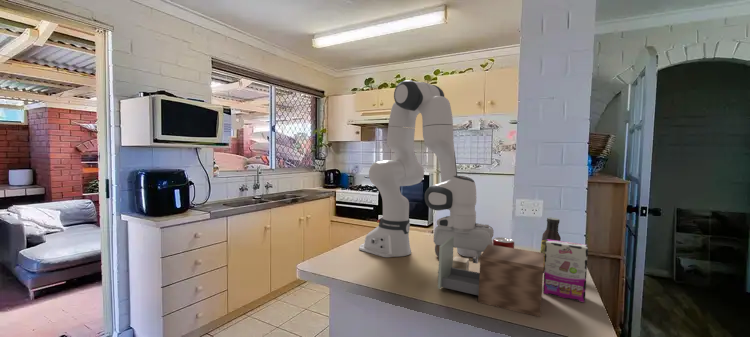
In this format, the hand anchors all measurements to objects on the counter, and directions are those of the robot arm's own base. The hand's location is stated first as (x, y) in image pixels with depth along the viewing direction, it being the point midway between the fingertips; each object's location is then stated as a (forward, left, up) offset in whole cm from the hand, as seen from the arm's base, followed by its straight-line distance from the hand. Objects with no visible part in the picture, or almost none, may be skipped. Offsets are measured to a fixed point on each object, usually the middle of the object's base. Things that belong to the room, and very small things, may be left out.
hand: (461, 260), depth 114 cm
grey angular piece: (+5, -12, -3) cm, 14 cm away
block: (-1, +1, -5) cm, 5 cm away
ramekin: (-3, +25, -5) cm, 25 cm away
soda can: (+12, +10, -5) cm, 17 cm away
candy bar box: (+31, 0, -5) cm, 32 cm away
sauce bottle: (+27, +21, -5) cm, 35 cm away
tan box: (+17, -12, -5) cm, 22 cm away
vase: (-11, +14, -5) cm, 18 cm away
